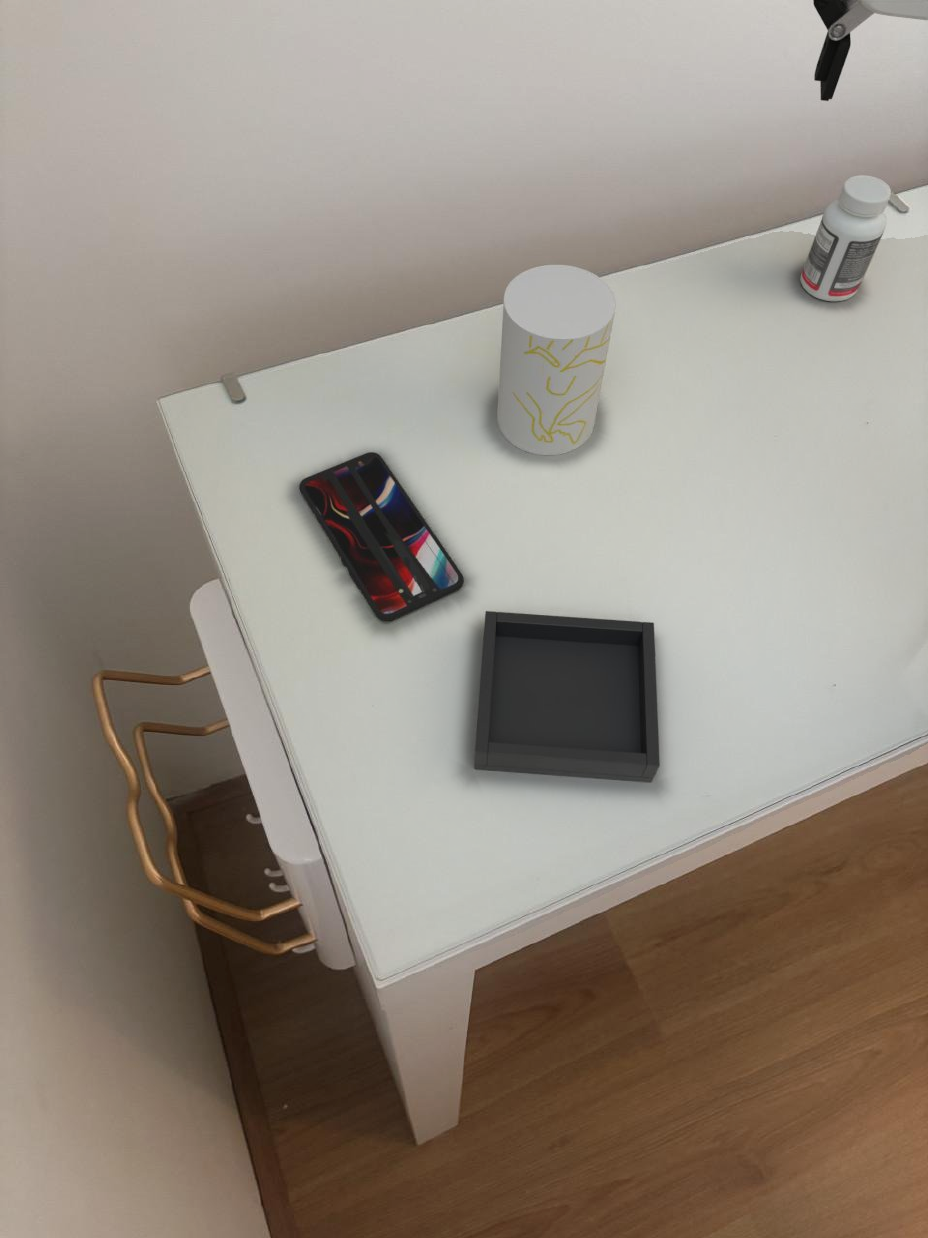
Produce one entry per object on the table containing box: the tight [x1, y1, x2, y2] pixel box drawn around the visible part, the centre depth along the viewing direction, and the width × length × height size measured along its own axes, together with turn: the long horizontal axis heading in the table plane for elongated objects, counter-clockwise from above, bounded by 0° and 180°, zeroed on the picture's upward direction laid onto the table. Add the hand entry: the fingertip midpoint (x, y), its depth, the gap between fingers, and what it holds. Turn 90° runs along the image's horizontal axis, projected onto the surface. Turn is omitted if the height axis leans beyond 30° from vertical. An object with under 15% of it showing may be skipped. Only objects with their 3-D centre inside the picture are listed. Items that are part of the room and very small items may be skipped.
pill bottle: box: [799, 174, 892, 302], centre depth 82 cm, size 5×5×10 cm
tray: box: [473, 610, 661, 783], centre depth 61 cm, size 12×11×3 cm
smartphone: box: [298, 451, 465, 623], centre depth 70 cm, size 7×1×15 cm
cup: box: [496, 264, 617, 456], centre depth 72 cm, size 8×8×12 cm
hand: (893, 98), depth 66 cm, fingers open, 9 cm apart
